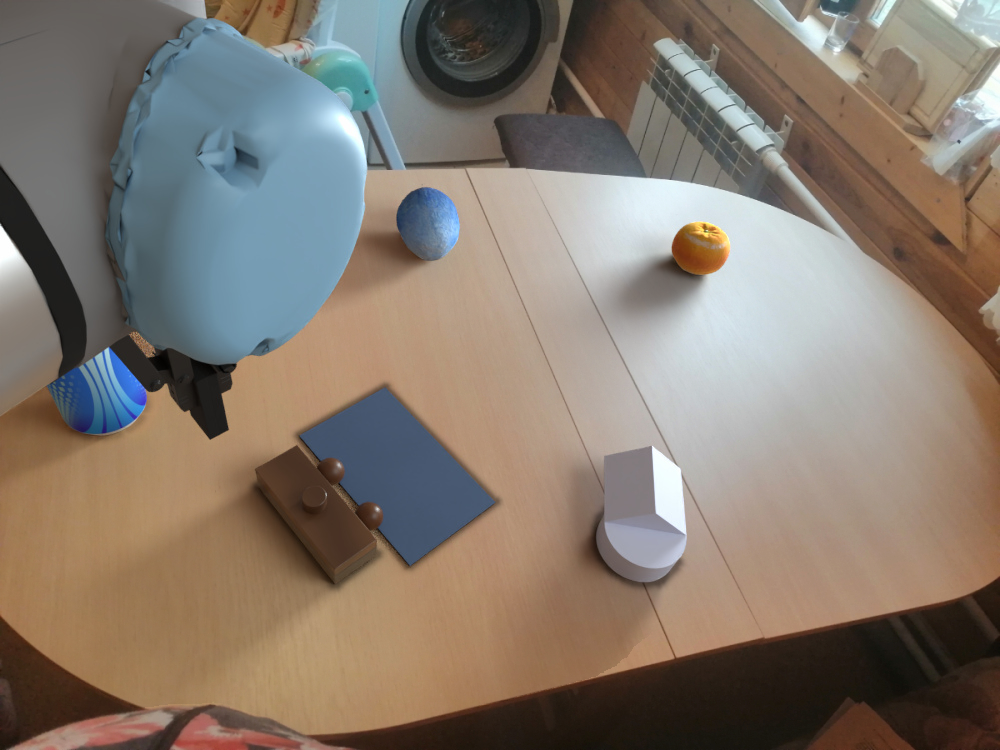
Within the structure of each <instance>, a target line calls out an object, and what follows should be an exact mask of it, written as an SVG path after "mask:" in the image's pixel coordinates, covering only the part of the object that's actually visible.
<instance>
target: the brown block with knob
mask: <svg viewBox="0 0 1000 750" xmlns="http://www.w3.org/2000/svg"><path fill="white" fill-rule="evenodd" d="M254 472H255V476H256V482H257V487H258V488H259V490H260V491H261V492H262V494H263V495H264V496H265V498H266V499H267V500H268V501H269V503H270V504H271V505H272V506H273V507H274V509H275V510H276V512H278V514H279V515H280V517H281V518H282V519H283V520H284V522H285V523H286V524H287V525H288V527H289V528H290V529H291V531H292V532H293V533H294V534H295V535H296V537H297V538H298V539H299V541H300V542H301V543H302V545H303V546H304V547H305V548H306V550H307V551H308V552H309V554H310V555H311V556H312V558H314V559H315V561H316V562H317V564H318V565H319V566H320V567H321V569H322V570H323V571H324V572H325V574H326V575H327V576H328V577H329V578H330V580H331V581H332V583H333V584H334V585H337V584H338V583H340V582H341V581H342V580H344V579H345V578H346V577H348V576H350V575H351V574H352V573H353V572H355V571H356V570H358V569H360V567H362V566H363V565H365V564H366V563H368V562H369V561H370V560H372V559H373V558H375V557H376V556H377V549H378V539H377V537H376V536H375V535H374V533H372V531H369V529H368V528H367V527H366V526H365V525H364V524H363V522H362V521H361V520H360V519H359V518H358V516H357V515H356V514H355V511H353V509H352V508H351V507H350V506H349V505H348V503H347V502H346V501H345V499H343V497H342V496H341V494H339V493H338V492H337V490H336V489H335V487H333V486H331V484H330V483H329V482H328V481H327V480H326V479H325V477H324V476H323V475H322V474H321V473H320V471H319V470H318V469H317V466H315V464H314V463H313V462H312V461H311V460H310V458H309V457H308V456H307V454H305V452H304V451H303V450H302V449H301V447H300V446H299V445H298V444H296V445H295V446H293V447H290V448H289V449H287V450H286V451H283V452H282V453H281V454H279V455H277V456H275V457H274V458H272V459H270V460H269V461H266V462H265V463H262V465H259V466H258V467H256V468H255V469H254Z"/></svg>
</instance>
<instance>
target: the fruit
mask: <svg viewBox="0 0 1000 750" xmlns="http://www.w3.org/2000/svg"><path fill="white" fill-rule="evenodd" d="M730 252H731V242H730V239H729V236H728V235H727V233H726V232H725V231H724V230H723V229H722V228H720V227H719V226H718V225H715V224H713V223H710V222H707V221H693V222H689V223H687V224H685V225H683V226H682V227H681V228H679V229H678V231H677V232H676V234H675V235H674V237H673V240H672V243H671V254H672V257H673V259H674V261H675V262H676V263H677V265H678V266H679V267H680V269H682V270H683V271H685V272H686V273H689V274H691V275H695V276H696V275H698V276H699V275H701V276H704V275H710V274H713V273H716V272H718V271H719V270H720V269H721V268H722V267H723V266H724V265H725V264H726V262H727V260H728V258H729V256H730Z"/></svg>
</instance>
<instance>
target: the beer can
mask: <svg viewBox="0 0 1000 750" xmlns="http://www.w3.org/2000/svg"><path fill="white" fill-rule="evenodd" d="M46 388H47V389H48V392H49V394H50V395H51V398H52V400H53V401H54V404H55V406H56V407H57V410H58V412H59V414H60V416H61V418H62V420H63V422H64V423H65V424H66V425H67V426H68V427H69V428H70V429H72V430H73V431H76V432H79V433H82V434H86V435H91V436H110V435H114V434H117V433H119V432H122V431H124V430H126V429H127V428H129V427H131V426H132V425H133V424H134V423H135V422H136V421H137V420H138V418H139V417H140V416H141V415H142V413H143V412H144V410H145V408H146V405H147V401H148V393H147V390H146V389H145V388H144V387H143V386H142V385H141V383H140V382H139V381H138V380H137V379H136V378H135V376H134V375H133V374H132V373H131V372H130V371H129V369H128V368H127V367H126V366H125V365H124V364H123V363H122V361H121V360H120V359H119V358H118V357H117V356H116V354H115V353H114V352H113V351H112V350H111V349H110V347H108V348H107V349H105V350H104V351H103V352H101V353H100V354H98V355H97V356H95V357H94V358H92V359H91V360H89V361H88V362H86V363H85V364H83V365H82V366H80V367H77V368H74V369H72V370H71V371H69V372H68V373H66V374H65V375H63V376H62V377H60V378H59V379H57V380H56V381H55V382H53V383H52V384H48V385H47V386H46Z"/></svg>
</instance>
